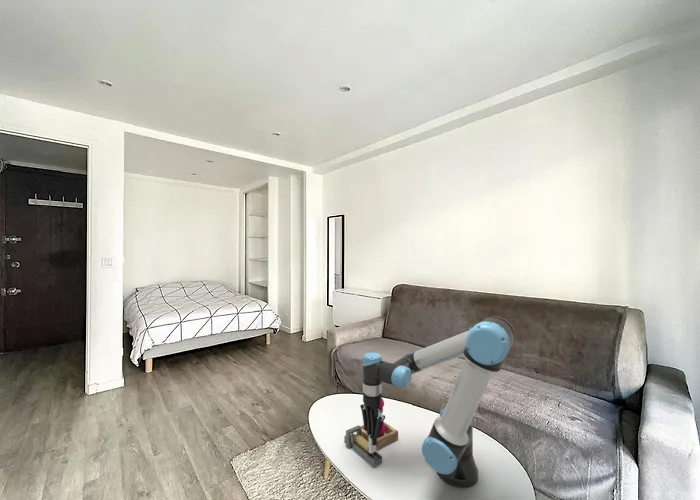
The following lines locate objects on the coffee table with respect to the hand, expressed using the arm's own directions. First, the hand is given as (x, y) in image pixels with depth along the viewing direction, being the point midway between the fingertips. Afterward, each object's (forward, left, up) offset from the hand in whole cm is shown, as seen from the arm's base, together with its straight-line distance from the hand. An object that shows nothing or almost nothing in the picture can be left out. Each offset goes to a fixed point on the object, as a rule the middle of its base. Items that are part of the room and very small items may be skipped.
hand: (372, 451), depth 123 cm
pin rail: (+7, 0, -4) cm, 8 cm away
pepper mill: (+10, -12, -4) cm, 16 cm away
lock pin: (+6, 0, -2) cm, 6 cm away
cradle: (+10, -12, -4) cm, 16 cm away
